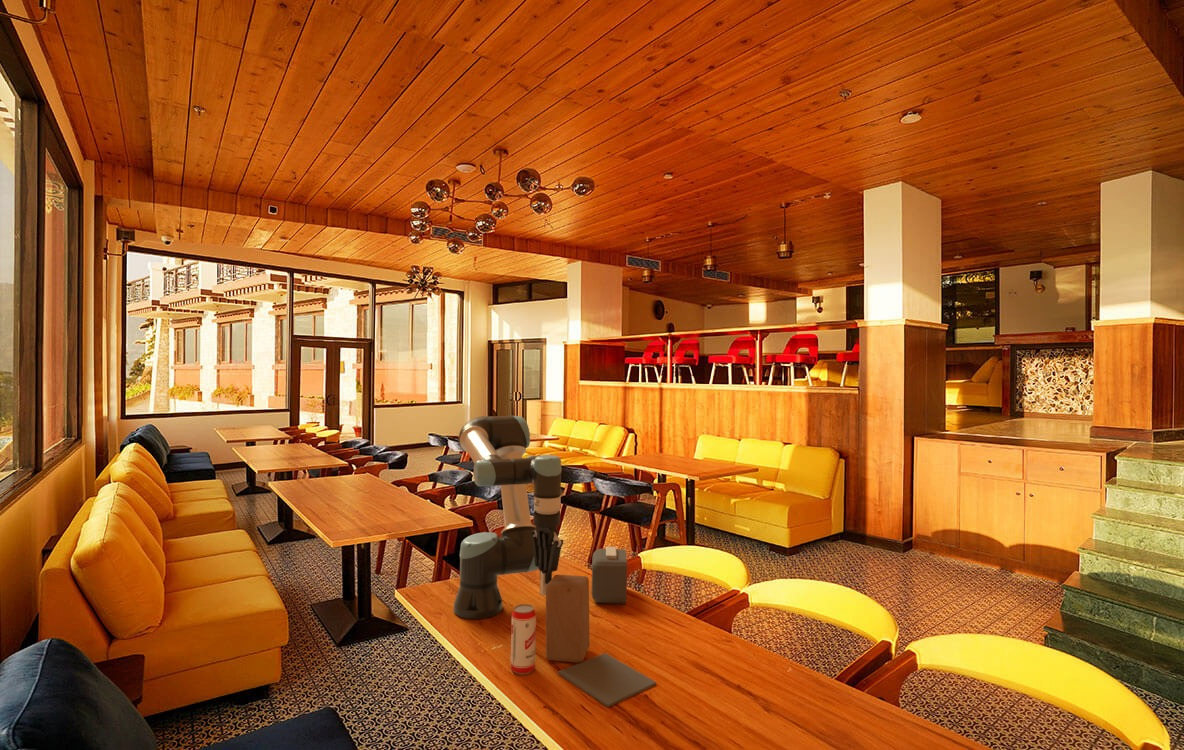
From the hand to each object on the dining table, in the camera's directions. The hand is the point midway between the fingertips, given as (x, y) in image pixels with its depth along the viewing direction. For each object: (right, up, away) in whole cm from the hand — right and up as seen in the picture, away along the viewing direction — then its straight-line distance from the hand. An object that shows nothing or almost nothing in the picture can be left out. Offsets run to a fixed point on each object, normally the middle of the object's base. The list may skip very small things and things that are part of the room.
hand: (545, 593), depth 174 cm
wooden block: (+7, -14, -8) cm, 17 cm away
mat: (+17, -14, -20) cm, 30 cm away
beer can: (-5, -14, -16) cm, 22 cm away
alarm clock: (+19, -13, +34) cm, 41 cm away
